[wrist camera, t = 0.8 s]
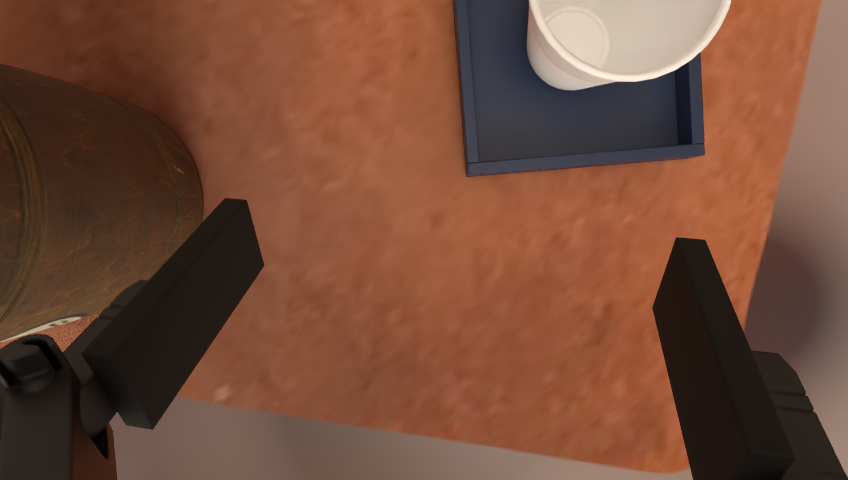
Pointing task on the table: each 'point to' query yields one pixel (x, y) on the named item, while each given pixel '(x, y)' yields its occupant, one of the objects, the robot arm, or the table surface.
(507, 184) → the table surface
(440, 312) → the table surface
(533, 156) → the tray
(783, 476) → the robot arm
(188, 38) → the table surface
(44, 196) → the wooden container
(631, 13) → the cup
